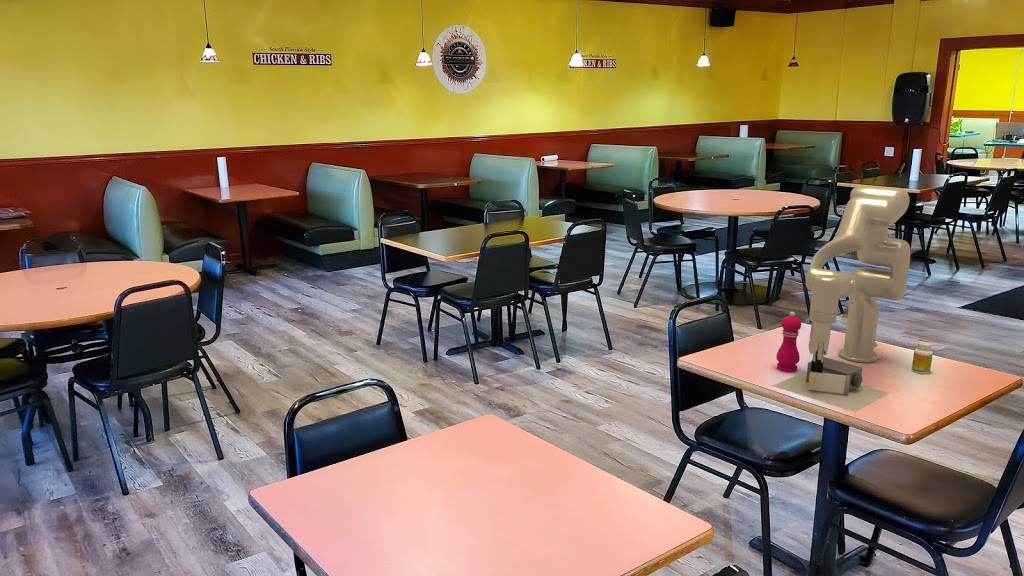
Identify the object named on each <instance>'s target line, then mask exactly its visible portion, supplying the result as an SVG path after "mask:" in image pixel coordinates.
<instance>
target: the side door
mask: <svg viewBox="0 0 1024 576" xmlns="http://www.w3.org/2000/svg"><path fill="white" fill-rule="evenodd" d="M849 382H850V376H849V375H846V376H844V375H835V374H827V373H818V372H810V377H809V386H808V389H809V390H817V391H825V392H833V393H841V394H844V395H848V390H849Z"/></svg>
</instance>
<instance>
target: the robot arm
mask: <svg viewBox="0 0 1024 576" xmlns="http://www.w3.org/2000/svg"><path fill="white" fill-rule="evenodd" d="M849 198H850V199H849V201H848V202H847V203H846V206H845V209H844V211H843V215H842V218H841V221H840V223H839V226H838V228H837V232H836V235H835V236H834V238H833V239H832V240H831V241H828V242H827V243H826V244H824V245H823V246H822V247H821V248H820V249H819V250H818V251H817V252H816V253H814V255H813V257H812V259H811V261H810V264H809V267H808V270H807V272H806V273H807V274H806V277H805V285H806V286H805V287H806V288H807V289H808V290H809V291H810V292H811V300H810V308H809V316H808V317H809V318H808V320H809V321H810V322H811V324H810V325H811V326H810V332H809V341H808V351H809V354H810V355H812V360H811V361H812V363H811V372H818V373H822V370H823V358H824V357H825V356H827V355H828V350H829V345H830V339H831V330H832V325H833V324H836V322H837V316H838V307H839V299H840V298H849V301H848V302H849V303H848V309H847V310H848V312H847V320H846V327H845V335H844V336H845V337H844V343H843V344H844V345H843V348H840V349H839V350H838V351H837V352H838V353H837V354H838V356H839V357H840V358H842V359H844V360H847V361H850V362H851V361H852V362H856V363H864V364H865V363H866V364H867V363H868V364H869V363H874V362H877V361H878V360H879V355H878V354H877V353H876V352H875V348H877V346H878V343H877V342H876V339H877V331H878V324H879V323H878V322H879V315H880V307H879V305H878V302H877V301H876V299H875V298H877V299H884V300H890V301H900V300H902V299H903V297H904V296H905V294H906V290H907V286H908V285H907V284H908V276H909V270H910V263H911V262H910V261H911V246H910V244H909V242H908V241H906V240H904V239H901V238H900V239H899V238H893V237H888V231H889V227H890V226H892V225H894V224H895V223H897V222H898V220H899V219H900V218H901V217H902V216H903V215H905V213H906V212H907V210H908V208H909V205H910V195H909V193H908V192H907V190H905V189H903V188H895V187H883V186H875V185H874V186H871V185H859V186H855V187H853V188H852V190H851V192H850V196H849ZM853 252H857V253H856V254H857V259H858V261H859V262H861V263H862V264H866V265H871V266H872V265H873V266H879V267H885V268H886V267H887V268H889V269H890V270H888V269H881V268H875V267H869V266H859V267H856V268H854V269H852V271H850V273H848V272H845V271H838V270H832V269H825V268H823V267H824V265H825V264H826V263H827V262H829V260H831V259H834V258H835V257H838V256H842V255H845V254H849V253H853Z"/></svg>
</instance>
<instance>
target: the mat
mask: <svg viewBox="0 0 1024 576" xmlns="http://www.w3.org/2000/svg"><path fill="white" fill-rule="evenodd" d="M806 376H807V370H805V371H802V372H801V373H798V374H796V375H793V376H791V377H789V378H785V380H782V381H780V382H778V383H775V384H773V385H772V386H773V387H774V388H775V387H776V388H779V389H781V390H785V391H787V392H791V393H794V394H796V395H800V396H803V397H807V398H809V399H812V400H817V401H819V402H822V403H825V404H829V405H832V406H835V407H837V408H841V409H844V410H848V411H850V412H854V413H856V412H857V411H859V410H861V409H863V408H865V407H866V406H868V405H869V406H870V404H872V403H874V402H875V401H878V400H879V399H881V398H882V397H883V398H884V397H885V396H886V395H888V394H889V392H886V391H883V390H880V389H876V388H873V387H869V386H867V385H863V384H861V385H860V387H859V388H857V389H855V390H853V391H851V392H849V393H848V395H844V394H841V393H833V392H825V391H817V390H809V389H808V386H809V383H808V382H806Z"/></svg>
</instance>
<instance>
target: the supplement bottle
mask: <svg viewBox="0 0 1024 576" xmlns="http://www.w3.org/2000/svg"><path fill="white" fill-rule="evenodd" d="M931 349H932V343H930V342H927V341H918V342H917V346H916V348H914V351H913V357H912V364H911V371H912V372H914V373H916V374H922V375H928V374H930V373H931V367H932V361H933V355H934V352H933V351H932V350H931Z"/></svg>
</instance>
